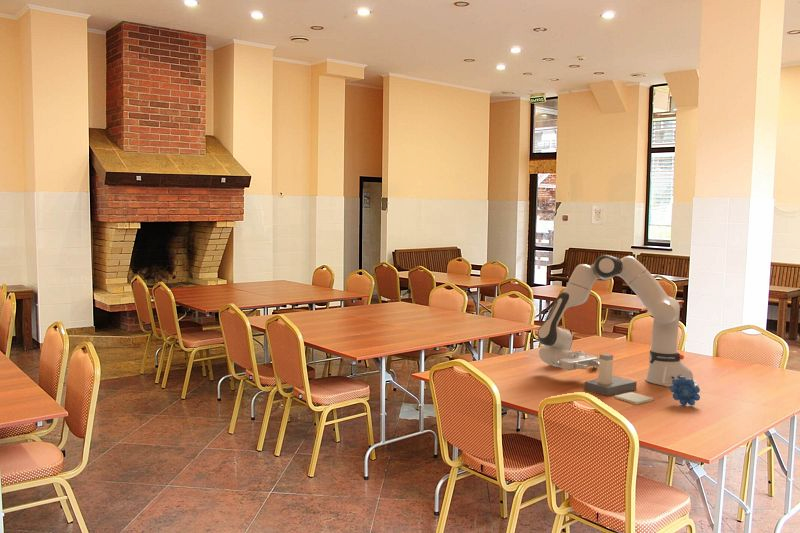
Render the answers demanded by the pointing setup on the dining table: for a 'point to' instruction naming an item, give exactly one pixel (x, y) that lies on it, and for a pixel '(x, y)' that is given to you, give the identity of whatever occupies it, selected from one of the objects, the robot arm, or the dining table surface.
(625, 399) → the sage pad
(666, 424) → the dining table surface
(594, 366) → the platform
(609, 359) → the cream plug
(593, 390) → the block
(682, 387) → the grapes
